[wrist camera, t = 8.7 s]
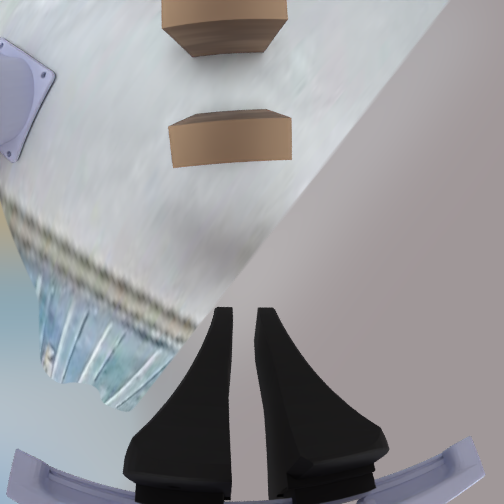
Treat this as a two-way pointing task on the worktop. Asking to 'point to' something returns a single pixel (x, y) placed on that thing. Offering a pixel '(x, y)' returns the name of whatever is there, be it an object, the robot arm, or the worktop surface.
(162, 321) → the worktop surface
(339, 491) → the robot arm
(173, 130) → the domino
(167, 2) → the domino
